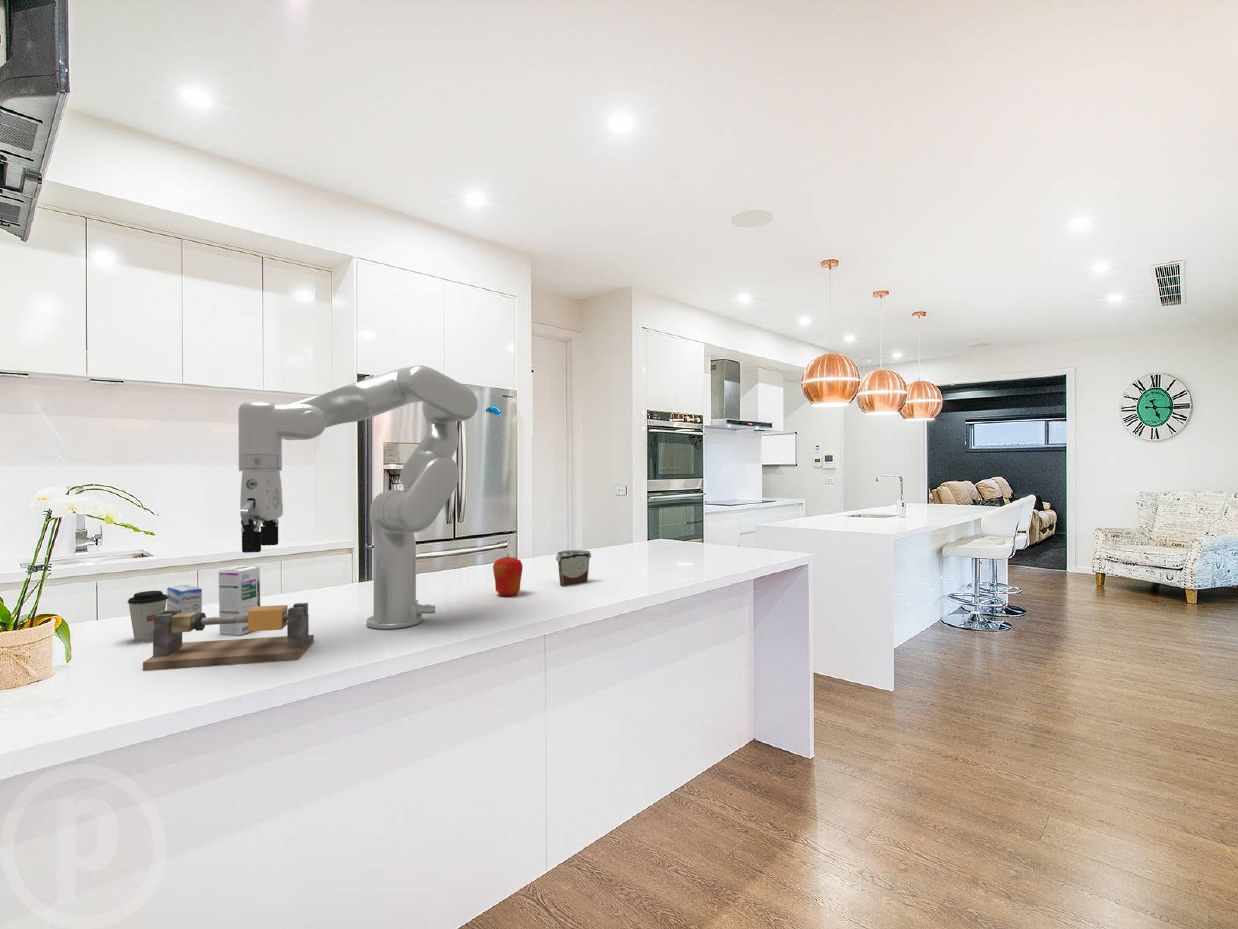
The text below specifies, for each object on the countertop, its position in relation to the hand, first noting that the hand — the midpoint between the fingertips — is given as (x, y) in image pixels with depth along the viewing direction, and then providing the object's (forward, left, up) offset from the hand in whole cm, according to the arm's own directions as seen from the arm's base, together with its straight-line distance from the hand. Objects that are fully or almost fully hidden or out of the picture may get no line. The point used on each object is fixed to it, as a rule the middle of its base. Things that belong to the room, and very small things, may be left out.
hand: (260, 548), depth 122 cm
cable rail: (+4, +1, -21) cm, 21 cm away
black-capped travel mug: (+26, -15, -21) cm, 37 cm away
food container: (-72, -53, -21) cm, 91 cm away
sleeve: (-2, +1, -16) cm, 16 cm away
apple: (-52, -41, -21) cm, 69 cm away
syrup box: (+9, -17, -21) cm, 28 cm away
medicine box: (+24, -27, -21) cm, 42 cm away
